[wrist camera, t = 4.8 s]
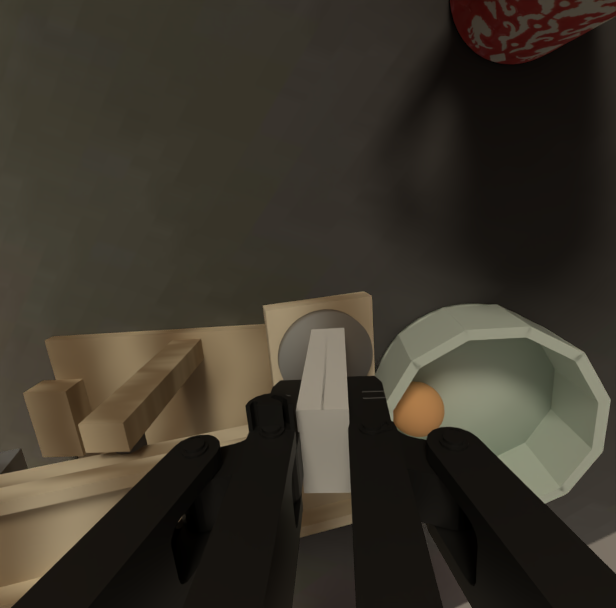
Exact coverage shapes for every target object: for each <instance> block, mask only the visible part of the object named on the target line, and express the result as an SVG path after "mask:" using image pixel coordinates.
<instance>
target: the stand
mask: <svg viewBox="0 0 616 608" xmlns="http://www.w3.org/2000/svg"><path fill="white" fill-rule="evenodd" d="M45 343H46V347H47V350H48V354H49V357H50V361H51V364H52V368H53V371H54V375H55V378H56V380H46V381H41V382H40V383H38V384H37V385H35V386H34V387H32V388H30V389H29V390H27V391H26V392H24V393H23V395H24V398H25V401H26V405H27V408H28V411H29V414H30V417H31V420H32V424H33V427H34V430H35V433H36V436H37V439H38V443H39V446H40V449H41V452H42V455H43V457H65V456H78V458H79V459H80V458H85V457H90V456H95V455H100V454H105V453H110V452H130V451H131V450H132V448H133V447H134V446H135V445H136V443H137V442H138V441H139V440H140V438H141V437H142V436H143V434H144V433H145V436H146V440H147V445H149V444H154V443H159V442H164V441H169V440H174V439H179V438H184V437H189V436H194V435H199V434H204V433H209V432H214V431H219V430H224V429H229V428H234V427H239V426H244V425H248V422H247V415H246V407H245V405H246V404H247V403H248V402H249V401H250V400H251V399H253V398H255V397H257V396H260V395H263V394H268V393H271V390H272V379H271V371H270V362H269V354H268V346H267V337H266V329H265V324H256V325H239V326H222V327H205V328H188V329H171V330H154V331H137V332H120V333H103V334H86V335H69V336H53V337H51V338H49V339H47V340H45Z"/></svg>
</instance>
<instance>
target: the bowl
mask: <svg viewBox="0 0 616 608" xmlns="http://www.w3.org/2000/svg"><path fill="white" fill-rule="evenodd" d="M375 376H376V377H377V378H378V379H379V380H380V381H381V382H382V384H383V388H384V393H385V398H386V401H387V405H388V409H389V413H390V418H391V421H393V410H394V409H395V407H396V406H397V404H398V402H399V401H400V399H401V397H402V396H403V394H404V393H405V391H406V389H407V388H408V386H409V385H410V383H411V382H422V383H425V384H427V385H429V386H431V387H432V388H434V389H435V390H436V391H437V392H438V394H439V395H440V397H441V399H442V401H443V404H444V411H445V413H444V419H443V422H442V424H441V425H440V427H456V428H461V429H464V430H466V431H469V432H471V433H472V434H474V435H475V436H477V437H478V438H479V439H480V440H481V441H482V442H483V443H484V444H485V445H486V446H487V447H488V448H489V449H490V450H491V451H492V452H493V453H494V454H495V455H496V456H497V457H498V458H499V459H500V460H501V461H502V462H503V463H504V464H505V465H506V466H507V467H508V468H509V469H510V470H511V471H512V472H513V473H514V474H515V475H516V476H517V477H518V478H519V479H520V480H521V481H522V482H523V483H524V484H525V485H526V486H527V487H528V488H529V489H530V490H531V491H532V492H533V493H535V494H536V495H537V496H538V497H539V498H540V499H541V500H542V501H543V502H544V503H547V502H550V501H552V500H554V499H556V498H558V497H561V496H563V495H565V494H567V493H568V492H569V491H570V490H571V489H572V487H573V486H574V485H575V484H576V483H577V481H578V480H579V479H580V478H581V477H582V476H583V474H584V473H585V472H586V471H587V470H588V468H589V467H590V466H591V465H592V464H593V463H594V461H595V460H596V459H597V458H598V457H599V455H600V454H601V453H602V452H603V448H604V441H605V434H606V427H607V421H608V414H609V407H610V401H611V399H610V398H609V396H608V394H607V392H606V390H605V389H604V387H603V385H602V383H601V381H600V380H599V378H598V376H597V374H596V372H595V371H594V369H593V367H592V365H591V363H590V361H589V360H588V358H587V356H586V354H585V353H584V352H583V351H581V350H580V349H578V348H576V347H575V346H573V345H572V344H570V343H568V342H567V341H565V340H563V339H562V338H560V337H559V336H557V335H555V334H554V333H552V332H550V331H549V330H547V329H546V328H544V327H542V326H540V325H538V324H536V323H534V322H532V321H530V320H528V319H526V318H524V317H522V316H520V315H518V314H517V313H515V312H512V311H510V310H508V309H505V308H503V307H501V306H499V305H497V304H492V305H489V304H481V303H465V304H456V305H451V306H447V307H443V308H440V309H437V310H434V311H432V312H429V313H427V314H425V315H423V316H422V317H420V318H418V319H416V320H415V321H413V322H412V323H411V324H409V325H408V326H407V327H405V328H404V329H403V330H402V331H401V332H400V333H399V334H398V335H397V336H396V337H395V338H394V339H393V341H392V342H391V343H390V345H389V346H388V348H387V349H386V351H385V352H384V354H383V356H382V358H381V360H380V363H379V366H378V369H377V372H376V373H375ZM440 427H439V428H440ZM397 430H398V431H400V430H399V429H398V428H397ZM400 432H401V433H403V432H402V431H400ZM403 434H405V433H403ZM405 435H407V434H405ZM408 436H410V435H408ZM410 437H414V436H410ZM414 438H419V439H425V440H427V436H424V437H414Z"/></svg>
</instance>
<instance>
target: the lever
mask: <svg viewBox="0 0 616 608" xmlns="http://www.w3.org/2000/svg"><path fill="white" fill-rule="evenodd" d="M263 312H264V320H265V329H266V337H267V346H268V354H269V362H270V371H271V379H272V387H273V386H274V385H276V384H277V383H278V382H279V381H280V380H302V376H303V371H304V366H305V361H306V355H307V350H308V345H309V340H310V335H311V330H312V329H329V328H344V332H345V349H346V366H347V377H352V376H375V366H374V340H373V313H372V296H371V295H369V294H368V293H366V292H364V291H363V292H356V293H349V294H342V295H335V296H327V297H320V298H313V299H306V300H299V301H292V302H284V303H277V304H270V305H263ZM248 433H249V429H248V425H244V426H239V427H234V428H229V429H224V430H219V431H214V432H209V433H204V434H199V435H211V436H214V437H216V438H217V439H218V440H219V441H220V447H222V446H227V445H231V444H235V443H238V442H241V441H243V440H245V439H246V438H247V435H248ZM194 436H196V435H194ZM189 437H192V436H189ZM189 437H184V438H179V439H174V440H169V441H164V442H159V443H154V444H149V445H147V440H146V436H145V433H144V434H143V436H142V437H141V438H140V440H139V441H138V442H137V443H136V445H135V446H134V447H133V448H132V450H131V451H130V452H110V453H105V454H100V455H95V456H90V457H85V458H80V459H75V460H70V461H65V462H60V463H55V464H50V465H45V466H40V467H35V468H30V469H28V468H27V465H26V462H25V459H24V456H23V453H22V450H21V448H20V449H15V450H9V451H4V452H0V608H11V607H12V606H13V605H14V604H15V603H16V602H17V601H18V600H19V599H20V598H21V597H22V596H23V595H24V594H25V593H26V592H27V591H28V590H29V589H30V588H31V587H32V586H33V585H34V584H35V583H36V582H37V581H38V580H39V579H40V578H41V577H42V576H43V575H44V574H46V573H47V572H48V571H49V570H50V569H51V568H52V567H53V566H54V565H55V564H56V563H57V562H58V561H59V560H60V559H61V558H62V557H63V556H64V555H65V554H66V553H67V552H68V551H69V550H70V549H71V548H72V547H73V546H74V545H75V544H76V543H77V542H78V541H79V540H80V539H81V538H82V537H83V536H84V535H85V534H86V533H87V532H88V531H89V530H90V529H91V528H92V527H93V526H94V525H95V524H96V523H97V522H98V521H99V520H100V519H101V518H102V517H103V516H104V515H105V514H106V513H107V512H108V511H109V510H110V509H111V508H112V507H113V506H114V505H115V504H116V503H117V502H119V501H120V500H121V499H122V498H123V497H124V496H125V495H126V494H127V493H128V492H129V491H130V490H131V489H132V488H133V487H134V486H135V485H136V484H137V483H138V482H139V481H140V480H141V479H142V478H143V477H144V476H145V475H146V474H147V473H148V472H149V471H150V470H151V469H152V468H153V467H154V466H155V465H156V464H157V463H158V462H159V461H160V460H161V459H162V458H163V457H164V456H165V455H166V454H167V453H168V452H169V451H170V450H171V449H172V448H173V447H174V446H176V445H177V444H178V443H180V442H181V441H182V440H185V439H187V438H189ZM302 501H303V513H302V522H301V532H300V538H301V537H304V536H308V535H312V534H316V533H319V532H323V531H327V530H330V529H334V528H338V527H342V526H345V525H349V524H352V506H351V493H304V487H303V485H302ZM181 518H182V517H181ZM179 521H180V520H179ZM179 521H178V522H179Z"/></svg>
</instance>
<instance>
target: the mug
mask: <svg viewBox="0 0 616 608" xmlns="http://www.w3.org/2000/svg"><path fill="white" fill-rule="evenodd" d="M450 5H451V12H452V16H453V20H454V23H455V25H456V28H457V30H458V32H459V34H460V36H461V37H462V39H463V40H464V41H465V43H466V44H467V45H468V46H469V47H470V48H471V49H472V50H473V51H474V52H475V53H476V54H478V55H480V56H481V57H483V58H485V59H487V60H490V61H493V62H496V63H501V64H520V63H525V62H529V61H532V60H535V59H537V58H540V57H542V56H544V55H546V54H548V53H550V52H552V51H554V50H556V49H558V48H559V47H561V46H563V45H565V44H566V43H568V42H570V41H572V40H574V39H576V38H578V37H579V36H581V35H583V34H585V33H587V32H588V31H590V30H592V29H594V28H596V27H597V26H599V25H601V24H603V23H605V22H607V21H608V20H610V19H612V18H614V17H616V0H450Z"/></svg>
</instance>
